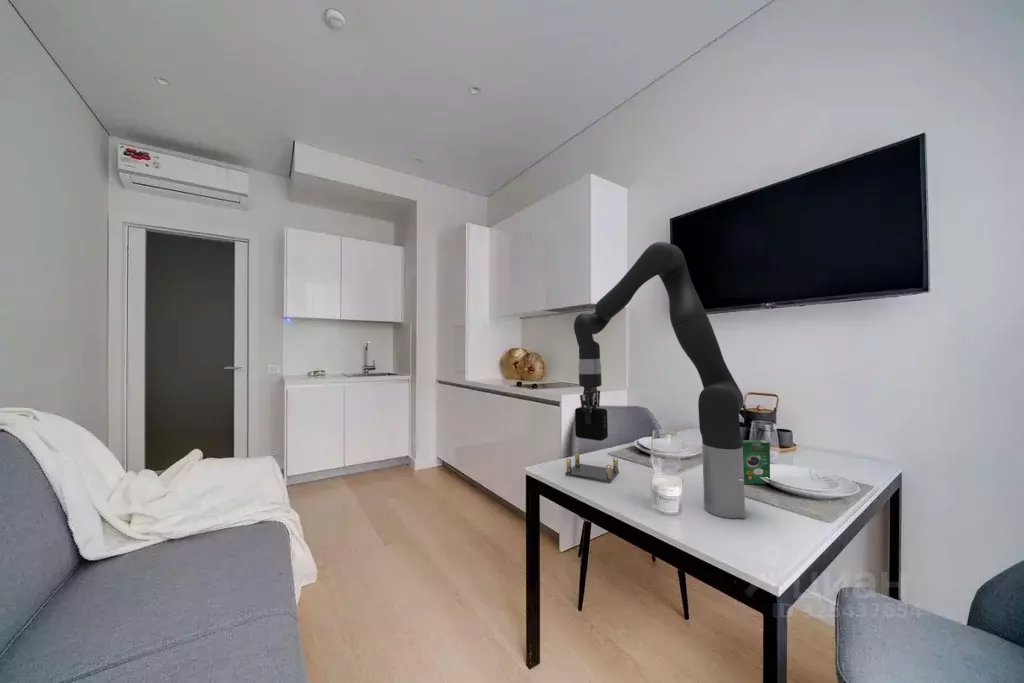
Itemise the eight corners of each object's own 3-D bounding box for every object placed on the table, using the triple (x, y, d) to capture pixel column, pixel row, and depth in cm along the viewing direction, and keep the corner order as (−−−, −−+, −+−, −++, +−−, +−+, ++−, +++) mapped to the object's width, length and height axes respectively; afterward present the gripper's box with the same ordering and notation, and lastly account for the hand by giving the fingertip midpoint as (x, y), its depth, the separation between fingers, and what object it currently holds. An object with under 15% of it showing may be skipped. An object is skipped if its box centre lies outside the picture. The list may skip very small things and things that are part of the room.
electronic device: (603, 441, 120) (602, 410, 120) (575, 437, 126) (574, 408, 126) (608, 438, 123) (607, 408, 123) (580, 434, 129) (580, 406, 129)
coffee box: (765, 481, 115) (764, 439, 115) (771, 484, 112) (770, 441, 112) (739, 481, 115) (738, 439, 115) (744, 484, 112) (743, 441, 112)
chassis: (619, 472, 125) (619, 458, 125) (610, 483, 116) (609, 467, 116) (576, 465, 133) (576, 452, 133) (565, 475, 124) (564, 460, 124)
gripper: (593, 374, 117) (595, 427, 116) (607, 370, 129) (608, 419, 129) (571, 373, 120) (573, 425, 120) (586, 370, 133) (587, 417, 132)
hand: (591, 422), depth 124 cm, fingers closed on electronic device, 4 cm apart
